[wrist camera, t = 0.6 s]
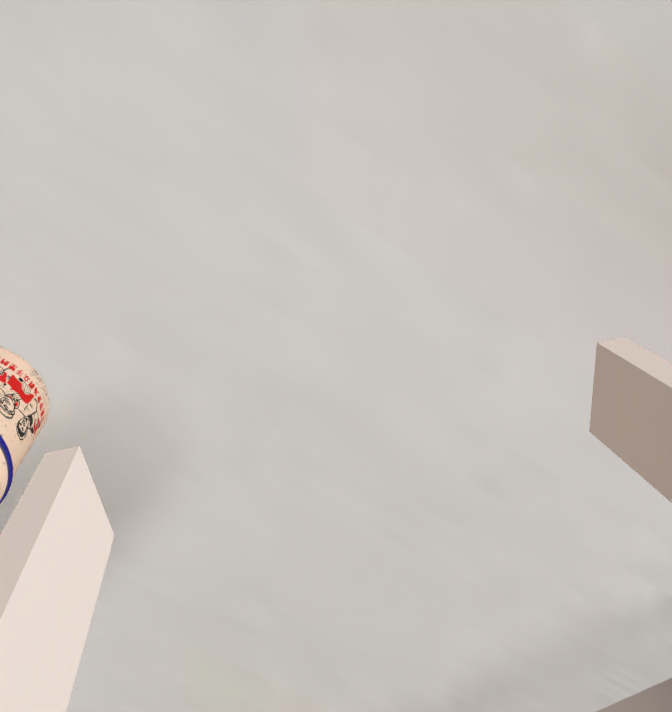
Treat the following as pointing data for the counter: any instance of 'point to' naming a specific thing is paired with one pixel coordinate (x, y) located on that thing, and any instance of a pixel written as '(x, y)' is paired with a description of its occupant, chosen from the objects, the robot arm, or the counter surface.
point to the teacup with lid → (18, 413)
